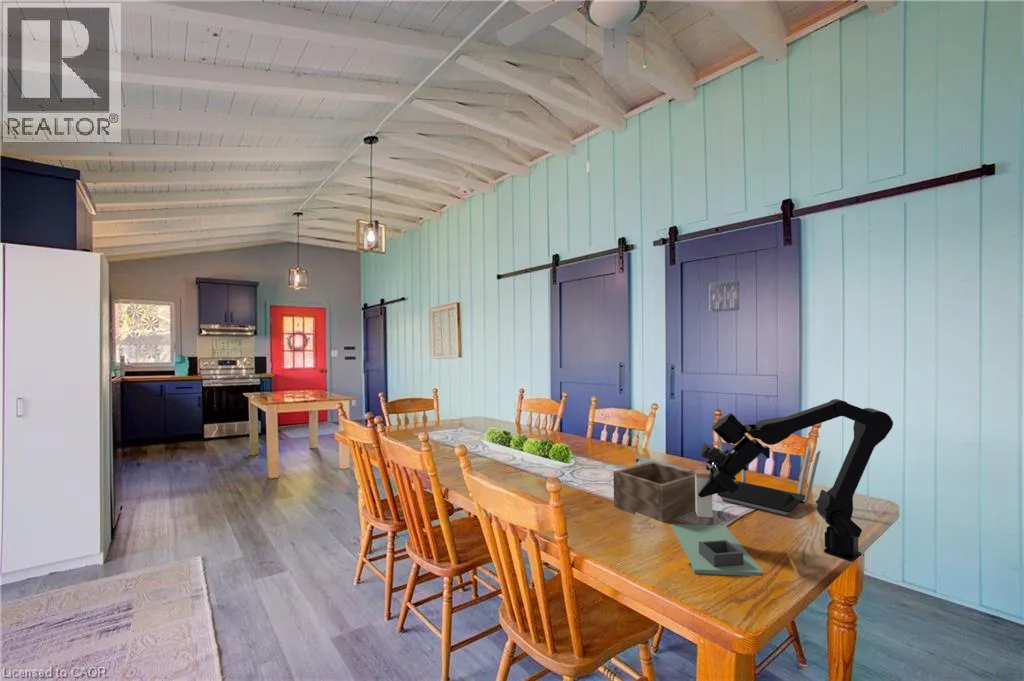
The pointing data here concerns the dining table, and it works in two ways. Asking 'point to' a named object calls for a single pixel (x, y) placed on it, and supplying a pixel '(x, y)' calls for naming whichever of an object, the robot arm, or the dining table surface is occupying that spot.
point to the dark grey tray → (720, 553)
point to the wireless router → (771, 491)
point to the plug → (705, 503)
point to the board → (699, 533)
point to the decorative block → (644, 460)
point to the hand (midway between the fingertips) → (698, 493)
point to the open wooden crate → (655, 491)
